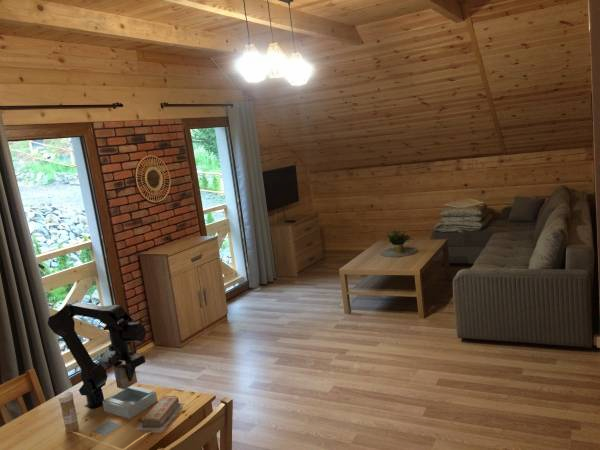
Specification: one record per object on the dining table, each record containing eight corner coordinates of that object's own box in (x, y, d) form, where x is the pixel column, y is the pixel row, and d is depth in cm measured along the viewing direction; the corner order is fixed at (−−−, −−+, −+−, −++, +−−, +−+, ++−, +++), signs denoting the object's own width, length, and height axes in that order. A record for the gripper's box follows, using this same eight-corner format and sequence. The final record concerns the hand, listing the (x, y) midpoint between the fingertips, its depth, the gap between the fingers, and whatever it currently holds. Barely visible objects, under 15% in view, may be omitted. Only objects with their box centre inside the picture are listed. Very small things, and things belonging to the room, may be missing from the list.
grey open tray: (104, 412, 195) (102, 400, 194) (132, 395, 205) (130, 384, 205) (129, 420, 187) (127, 407, 186) (157, 402, 198) (155, 390, 197)
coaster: (92, 432, 182) (91, 431, 181) (108, 422, 187) (108, 420, 187) (104, 437, 178) (104, 435, 178) (121, 426, 183) (121, 424, 183)
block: (117, 387, 193) (113, 367, 192) (130, 380, 198) (126, 360, 197) (124, 389, 191) (120, 369, 190) (137, 381, 196) (133, 362, 194)
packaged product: (158, 393, 195) (183, 394, 193) (160, 405, 196) (185, 406, 194) (133, 420, 178) (159, 421, 175) (135, 433, 179) (161, 434, 176)
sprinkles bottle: (62, 432, 184) (55, 397, 182) (72, 425, 188) (65, 390, 186) (72, 433, 182) (65, 398, 180) (82, 426, 186) (75, 391, 184)
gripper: (84, 346, 190) (92, 385, 193) (117, 352, 180) (125, 394, 182) (109, 334, 199) (116, 372, 202) (142, 340, 189) (150, 380, 192)
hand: (126, 379), depth 194 cm, fingers closed on block, 4 cm apart
